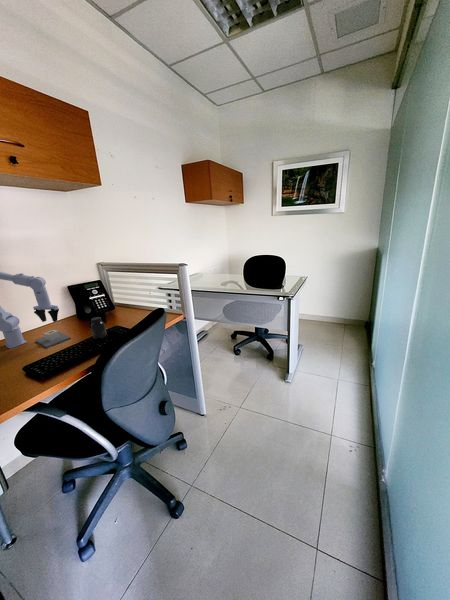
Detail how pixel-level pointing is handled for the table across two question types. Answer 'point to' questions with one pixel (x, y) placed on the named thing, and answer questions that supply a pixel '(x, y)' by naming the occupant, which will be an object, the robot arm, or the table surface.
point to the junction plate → (54, 342)
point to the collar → (51, 335)
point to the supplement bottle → (98, 328)
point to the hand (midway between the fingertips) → (50, 321)
